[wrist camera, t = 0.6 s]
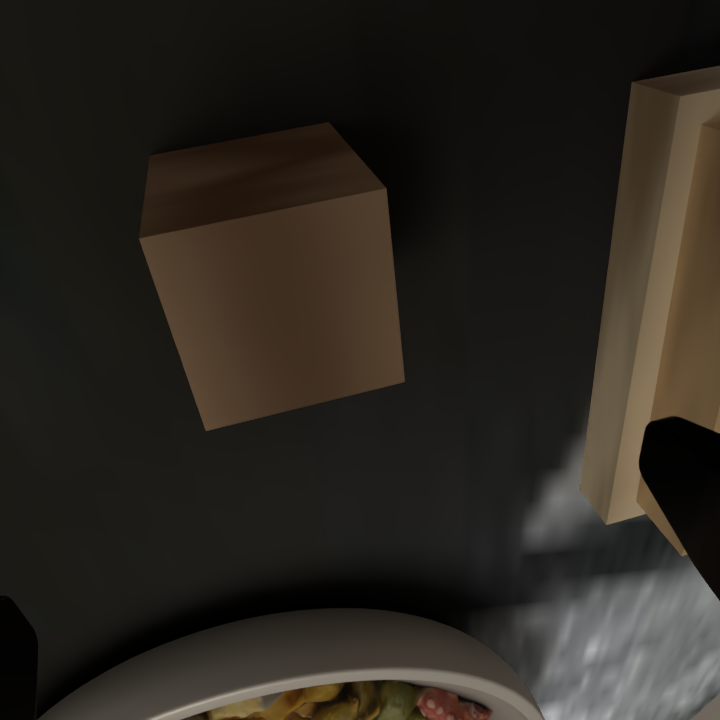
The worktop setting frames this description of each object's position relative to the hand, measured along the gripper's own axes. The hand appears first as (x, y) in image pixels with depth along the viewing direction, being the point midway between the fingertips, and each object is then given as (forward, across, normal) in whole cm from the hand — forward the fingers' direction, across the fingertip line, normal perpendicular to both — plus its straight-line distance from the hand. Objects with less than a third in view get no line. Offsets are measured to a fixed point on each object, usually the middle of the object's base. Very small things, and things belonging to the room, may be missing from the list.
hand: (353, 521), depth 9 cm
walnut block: (+12, 0, 0) cm, 12 cm away
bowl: (+13, +6, +31) cm, 34 cm away
